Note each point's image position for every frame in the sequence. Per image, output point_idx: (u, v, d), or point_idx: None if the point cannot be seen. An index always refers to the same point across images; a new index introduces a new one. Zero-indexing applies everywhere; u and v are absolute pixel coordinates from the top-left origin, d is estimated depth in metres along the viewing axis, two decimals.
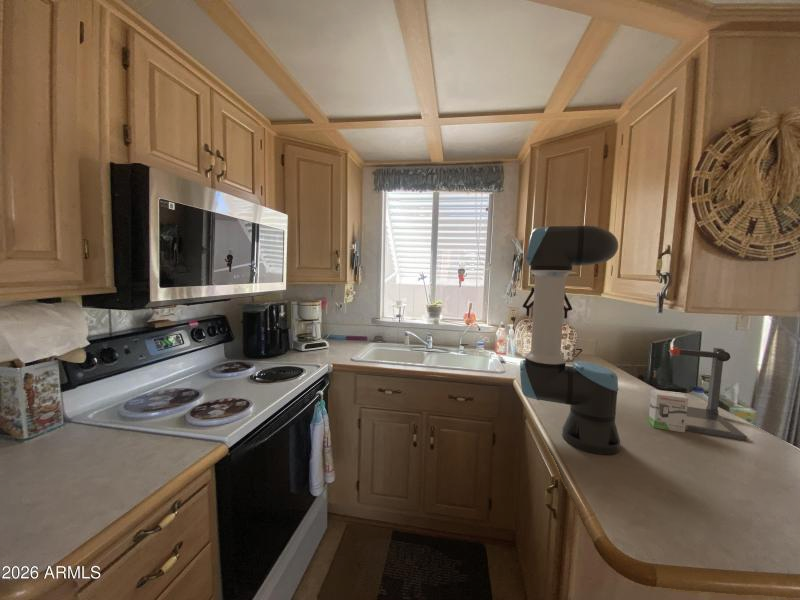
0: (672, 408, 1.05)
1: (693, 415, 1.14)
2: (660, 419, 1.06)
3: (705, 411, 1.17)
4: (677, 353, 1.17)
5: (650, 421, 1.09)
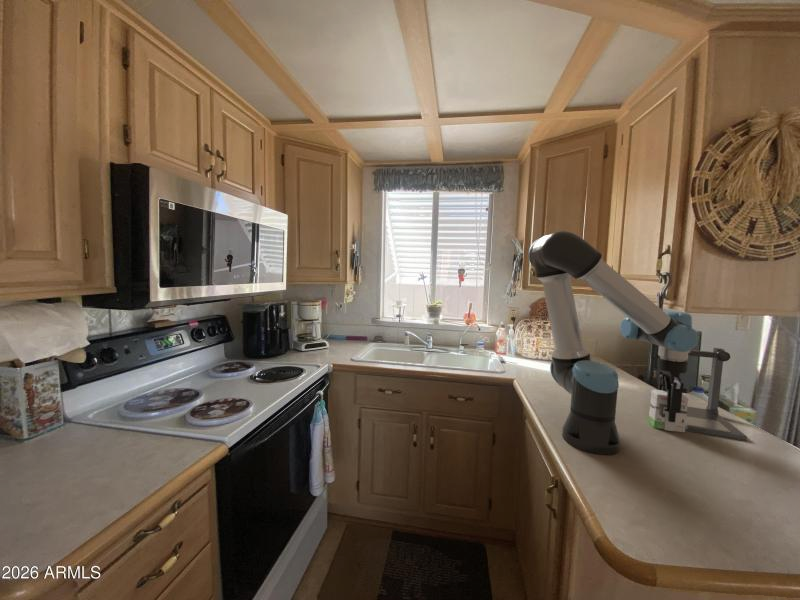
0: None
1: (693, 415, 1.14)
2: (660, 419, 1.06)
3: (705, 411, 1.17)
4: None
5: (650, 421, 1.09)
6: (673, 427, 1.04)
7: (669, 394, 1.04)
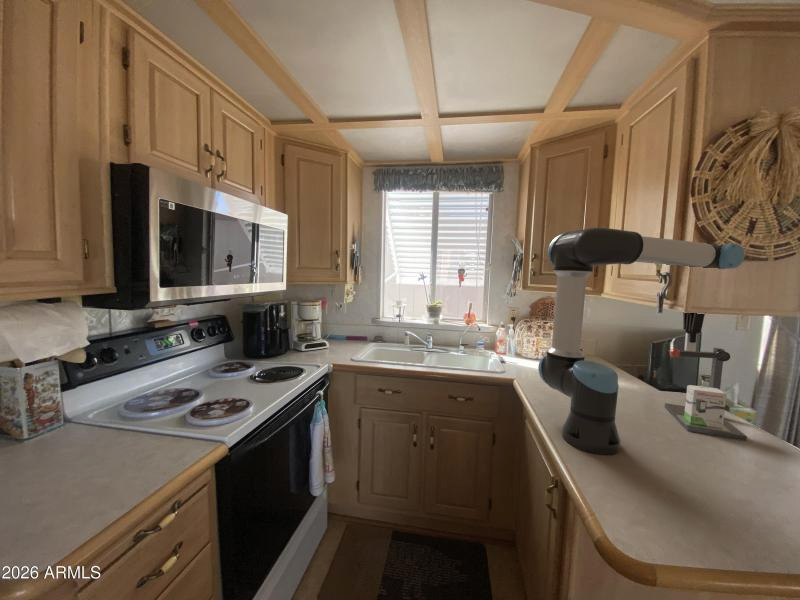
0: (709, 404, 1.04)
1: None
2: (697, 414, 1.05)
3: None
4: (677, 355, 1.17)
5: (686, 417, 1.09)
6: (694, 347, 1.16)
7: (691, 318, 1.14)
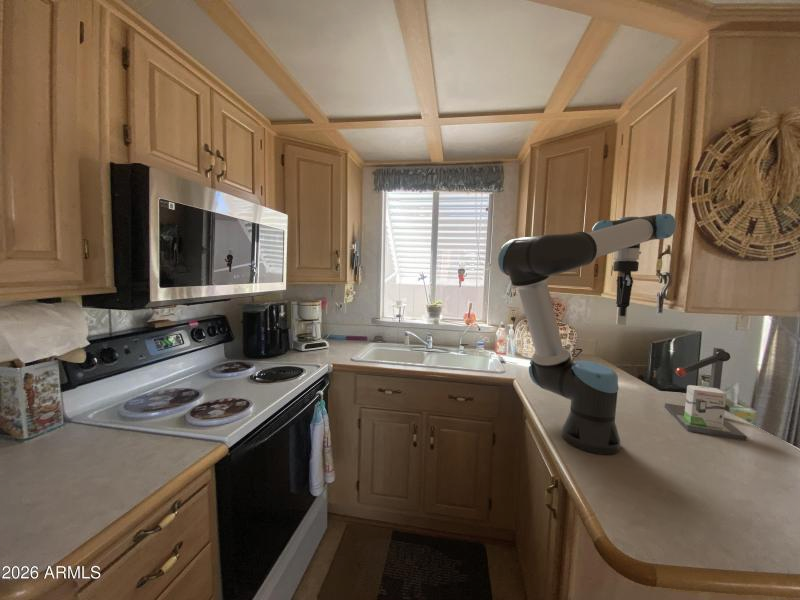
0: (709, 404, 1.04)
1: None
2: (697, 414, 1.05)
3: None
4: (684, 373, 1.17)
5: (686, 417, 1.09)
6: (624, 321, 1.18)
7: (621, 292, 1.17)
